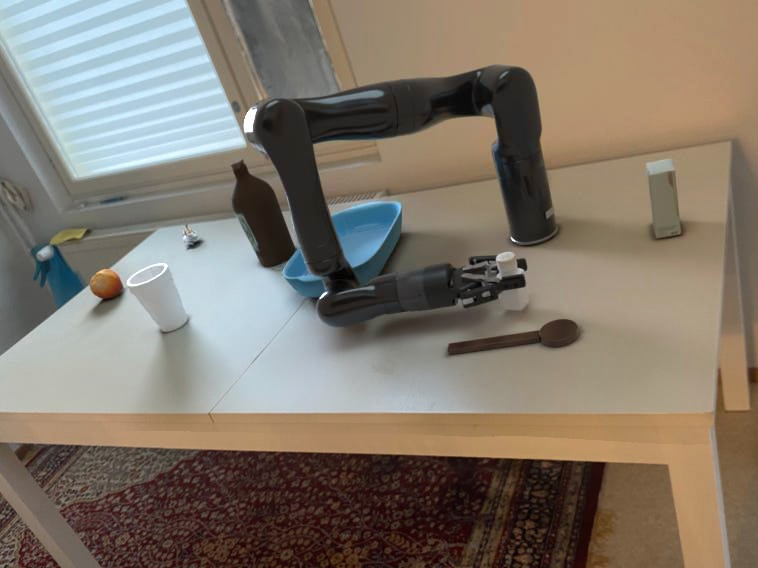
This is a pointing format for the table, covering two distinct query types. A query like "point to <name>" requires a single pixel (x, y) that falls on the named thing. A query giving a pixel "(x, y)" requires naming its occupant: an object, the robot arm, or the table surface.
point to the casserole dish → (354, 245)
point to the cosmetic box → (663, 198)
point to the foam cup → (159, 296)
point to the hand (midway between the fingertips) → (525, 272)
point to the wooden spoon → (523, 338)
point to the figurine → (189, 236)
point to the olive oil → (260, 216)
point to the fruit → (106, 284)
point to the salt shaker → (513, 297)
